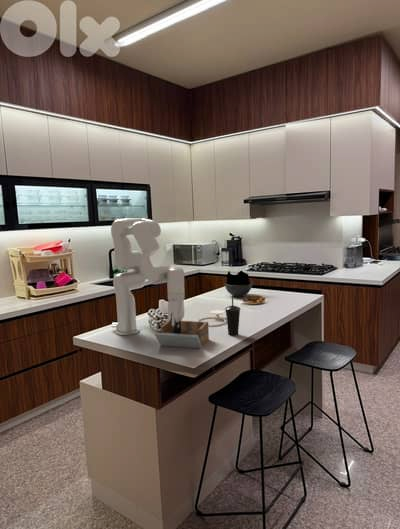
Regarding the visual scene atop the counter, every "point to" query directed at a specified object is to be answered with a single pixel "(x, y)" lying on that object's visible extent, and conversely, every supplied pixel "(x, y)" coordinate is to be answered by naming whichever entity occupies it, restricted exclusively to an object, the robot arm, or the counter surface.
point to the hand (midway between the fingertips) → (177, 335)
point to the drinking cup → (232, 319)
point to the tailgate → (178, 340)
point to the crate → (190, 329)
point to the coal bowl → (238, 284)
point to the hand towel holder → (215, 317)
